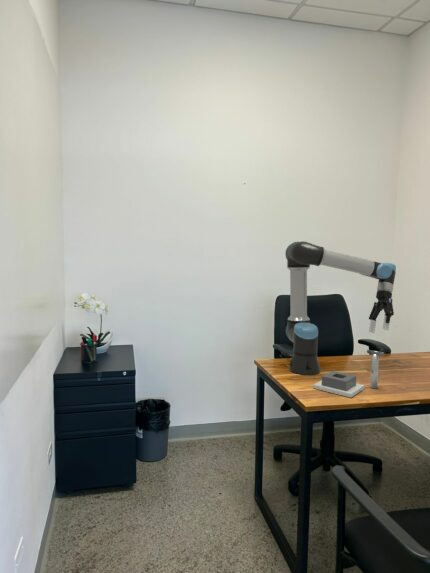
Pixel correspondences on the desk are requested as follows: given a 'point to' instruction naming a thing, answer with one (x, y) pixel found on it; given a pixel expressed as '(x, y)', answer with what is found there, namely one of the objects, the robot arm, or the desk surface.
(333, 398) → the desk surface
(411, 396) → the desk surface
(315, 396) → the desk surface
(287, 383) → the desk surface
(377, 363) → the chuck key
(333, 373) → the chuck block
